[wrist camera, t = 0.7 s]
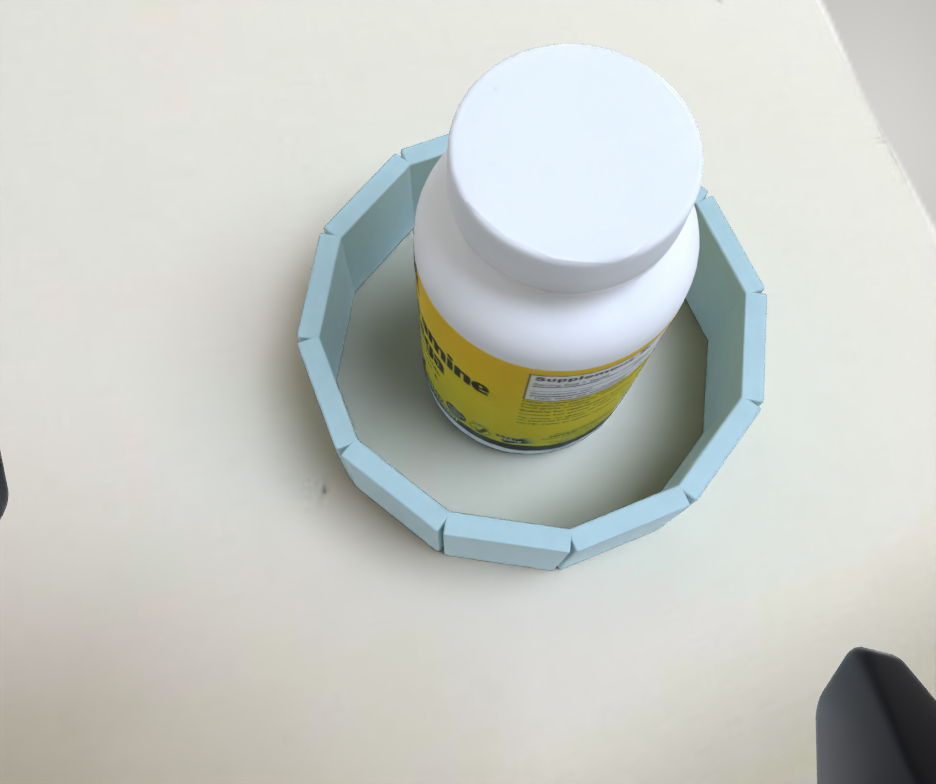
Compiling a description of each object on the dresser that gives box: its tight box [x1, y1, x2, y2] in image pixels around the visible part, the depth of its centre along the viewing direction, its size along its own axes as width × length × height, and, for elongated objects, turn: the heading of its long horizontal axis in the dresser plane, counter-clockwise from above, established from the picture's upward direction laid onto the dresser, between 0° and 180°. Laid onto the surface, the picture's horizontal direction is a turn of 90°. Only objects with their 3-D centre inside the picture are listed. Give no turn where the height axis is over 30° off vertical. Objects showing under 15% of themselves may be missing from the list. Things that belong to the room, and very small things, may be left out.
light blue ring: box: [297, 134, 767, 571], centre depth 24 cm, size 12×12×4 cm
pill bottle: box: [413, 44, 703, 454], centre depth 20 cm, size 6×6×11 cm
